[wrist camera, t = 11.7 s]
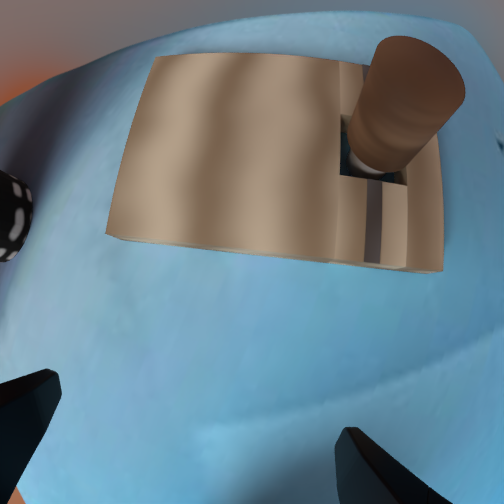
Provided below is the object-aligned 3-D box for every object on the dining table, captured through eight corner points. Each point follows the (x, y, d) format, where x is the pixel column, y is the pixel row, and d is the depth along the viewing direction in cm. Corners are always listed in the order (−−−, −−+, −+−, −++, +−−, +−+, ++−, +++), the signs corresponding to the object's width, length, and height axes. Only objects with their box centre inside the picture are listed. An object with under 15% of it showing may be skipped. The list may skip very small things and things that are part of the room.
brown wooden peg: (404, 172, 20) (479, 90, 10) (364, 205, 20) (433, 128, 10) (365, 128, 21) (411, 27, 10) (324, 158, 21) (354, 52, 10)
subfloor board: (416, 96, 21) (427, 80, 19) (426, 273, 19) (443, 270, 17) (164, 74, 23) (155, 56, 21) (122, 239, 21) (104, 233, 19)
